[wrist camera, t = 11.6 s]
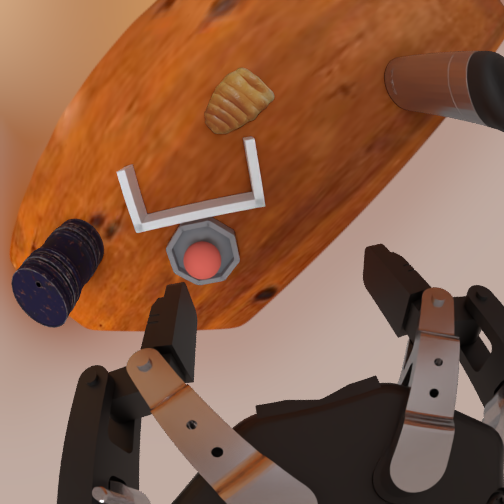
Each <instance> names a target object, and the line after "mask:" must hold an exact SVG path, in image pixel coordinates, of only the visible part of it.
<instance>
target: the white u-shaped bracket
mask: <svg viewBox="0 0 504 504" xmlns="http://www.w3.org/2000/svg"><path fill="white" fill-rule="evenodd" d="M243 142H244V147H245V153H246V159H247V164H248V170H249V176H250V182H251V187H252V192H248V193H242V194H237V195H232V196H227V197H222V198H217V199H212V200H207V201H203V202H198V203H193V204H189V205H184V206H180V207H176V208H171V209H167V210H163V211H159V212H155V213H150V214H147V211H146V208H145V205H144V202H143V199H142V195H141V192H140V189H139V185H138V182H137V178H136V175H135V171H134V168H133V164H132V165H128V166H125V167H124V168H122V169H121V170H119V171H118V172H117V175H118V179H119V182H120V185H121V188H122V192H123V195H124V198H125V201H126V204H127V207H128V210H129V213H130V216H131V219H132V222H133V225H134V228H135V230H136V233H140V232H144V231H148V230H152V229H157V228H161V227H165V226H170V225H174V224H179V223H183V222H188V221H193V220H197V219H202V218H207V217H212V216H217V215H222V214H227V213H232V212H237V211H242V210H247V209H253V208H258V207H264V206H265V201H264V195H263V188H262V182H261V176H260V170H259V163H258V157H257V151H256V145H255V139H254V138H253V137H252V136H250V137H244V138H243Z"/></svg>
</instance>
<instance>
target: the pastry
mask: <svg viewBox="0 0 504 504" xmlns="http://www.w3.org/2000/svg"><path fill="white" fill-rule="evenodd" d="M273 100H274V94H273V92H272V91H271V90H270V89H269V88H268V87H267V86H266V85H265V84H264V82H263V81H261V79H260V78H259V77H257V76H256V75H254V74H253V73H252V72H250V71H249V70H248V69H245V68H238V69H237V70H236V71H234V72H232V73H230V74H228V75H227V76H225V78H224V79H223V81H222V82H221V83H220V84H219V85H218V86H217V87H216V89H215V91H214V93H213V94H212V97H211V99H210V101H209V104H208V106H207V109H206V111H205V123H206V125H207V126H208V127H209V128H210V129H211V130H212V131H213V132H214V133H215V134H227V133H229V132H231V131H233V130H234V129H237V128H240V127H242V126H243V125H244V124H245V123H247V122H248V121H252V120H254V119H255V118H256V117H257V115H258V114H259V113H260V112H261V111H262V110H264V109H265V108H267V106H268V104H269V103H270V102H271V101H273Z"/></svg>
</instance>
